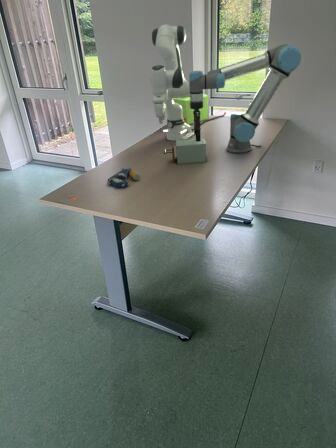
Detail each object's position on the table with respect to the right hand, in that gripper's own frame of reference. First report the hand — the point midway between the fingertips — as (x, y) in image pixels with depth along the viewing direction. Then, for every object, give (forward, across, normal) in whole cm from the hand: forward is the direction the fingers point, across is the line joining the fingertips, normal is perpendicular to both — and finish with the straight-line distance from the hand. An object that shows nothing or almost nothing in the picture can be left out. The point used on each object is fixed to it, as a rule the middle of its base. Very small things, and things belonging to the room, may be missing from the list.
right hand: (197, 137), depth 200 cm
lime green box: (+14, -95, 0) cm, 96 cm away
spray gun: (+14, +26, -42) cm, 51 cm away
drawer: (+13, 0, -10) cm, 16 cm away
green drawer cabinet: (+14, 0, -4) cm, 14 cm away
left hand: (-10, -3, -20) cm, 23 cm away
